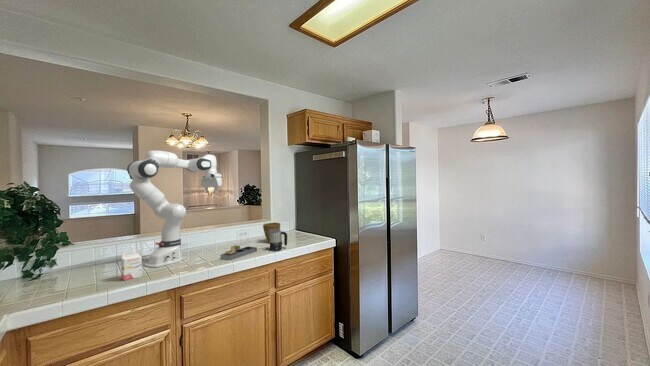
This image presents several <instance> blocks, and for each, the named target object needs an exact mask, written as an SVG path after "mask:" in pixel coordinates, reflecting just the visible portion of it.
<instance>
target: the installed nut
mask: <svg viewBox="0 0 650 366" xmlns="http://www.w3.org/2000/svg"><path fill="white" fill-rule="evenodd" d="M224 253H226V255H233V254H236V251H234V250H231V249H230V250H227V251H225V252H224Z"/></svg>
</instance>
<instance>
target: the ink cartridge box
mask: <svg viewBox="0 0 650 366" xmlns="http://www.w3.org/2000/svg"><path fill="white" fill-rule="evenodd" d="M139 253H140V250H139V249H134V250H129V251H124V252H122V253H121V259H120V261H121V263H120V264H121V267H120V269H121V280H122V281H128V280H133V279H137V277H138V278H141V276H142V277H143V262H142V261H143V260H142V259H143V258H142V255H140V254H139Z"/></svg>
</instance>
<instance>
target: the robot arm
mask: <svg viewBox="0 0 650 366" xmlns="http://www.w3.org/2000/svg"><path fill="white" fill-rule="evenodd" d="M217 166H218V164H217V157H216V156H215V155H214V154H209V153H207V154H204V155H203V156H201V157H199V158H189V159H182V158H179V157H178V155H177V154H176V153H174V152H170V151H165V150H155V149H154V150H148V151H147V152H146V153H145V156H144V159H143V160H134V161H132V162H131V163H129V164H128V165H127V168H126V171H127V173H128V176H129V179H131V181H130V183H129V188H130V190H131V191H132V192H133V193H134V195H135V196H137V197H138V198H139V199H140V200H141V201H143V203H145V204H146V205H148V207H149V208H150V209H151V210H152V211H153V212H154V215H155V216H156V218H158V219H162V220H164V224H163V226H162V227H161V230H160V233H161V235H160V236H161V237H160V239H161V240H160V242H158V241H157V242H155V246H158V247H157V248H156V249H155V250H154V251H153V252H151V253H150V254H149V256H148V261H147V262H145V263H144V267H146V268H159V267H164V266H169V265H173V264H177V263H181V262H182V261H183V260H184V257H183V253H182V247H181V246H182V239H181V224H182V221H183V219H184V217H185V216H186V214H187V209H186V207H185V206H184V205H182V204H179V203H172V202H169V201H168V200H167V199H166V196H165V194H164V192H162V191H161V190H160V189H159V188H158V187H157V186H155V185H154V184H153V183H152V182H151V180H150V178H151V179H152V178H154V177H155V176H156V175H157V174H158V172H159V168H163V169H173V168H180V169H185V170H187V171H189V172H190V173H191V172H193V173H195V172H202V171H204V175H203V176H201V180H200V187H201V188H204V190H205V193H206V194H209V193H210V191H209V188H214V191H213V193H214V194H217V193H218V190H219V188H221V187H222V185H223V182H222V181H223V180H222V177H223V176H222V174H221V173H219V172H218V171H217Z"/></svg>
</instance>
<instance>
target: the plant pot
mask: <svg viewBox="0 0 650 366" xmlns="http://www.w3.org/2000/svg"><path fill="white" fill-rule="evenodd" d="M262 229H263V233H264V237H265V238H266V239H265V240H266V241H267V243H268V244H270V234H269V231H270V230H281V223H280V222H269V223H263V224H262Z"/></svg>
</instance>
